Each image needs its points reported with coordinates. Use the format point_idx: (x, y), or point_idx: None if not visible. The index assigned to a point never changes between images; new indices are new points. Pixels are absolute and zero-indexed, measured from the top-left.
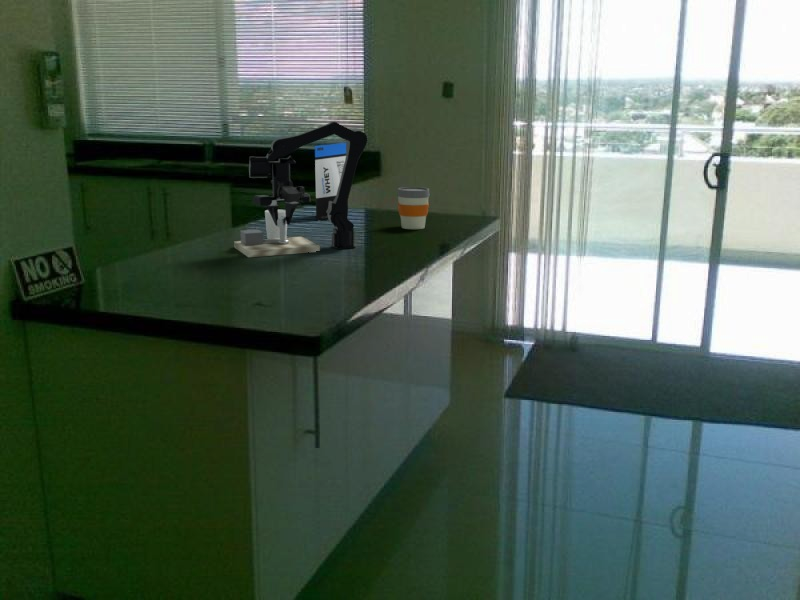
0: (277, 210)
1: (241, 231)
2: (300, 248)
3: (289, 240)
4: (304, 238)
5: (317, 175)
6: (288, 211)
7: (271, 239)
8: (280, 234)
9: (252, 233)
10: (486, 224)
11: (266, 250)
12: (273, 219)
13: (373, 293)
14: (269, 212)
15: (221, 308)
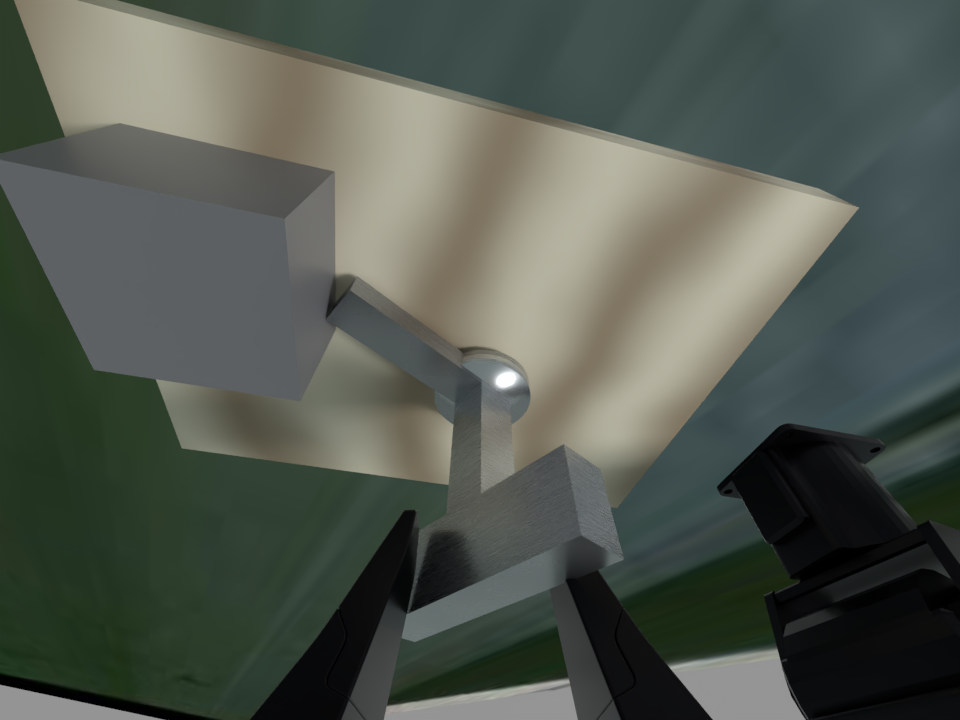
0: None
1: (20, 219)
2: None
3: (605, 310)
4: (769, 306)
5: None
6: (582, 685)
7: (407, 351)
8: (457, 441)
9: (181, 381)
10: None
11: (303, 461)
12: (371, 569)
13: (409, 696)
14: (305, 651)
15: (111, 673)
